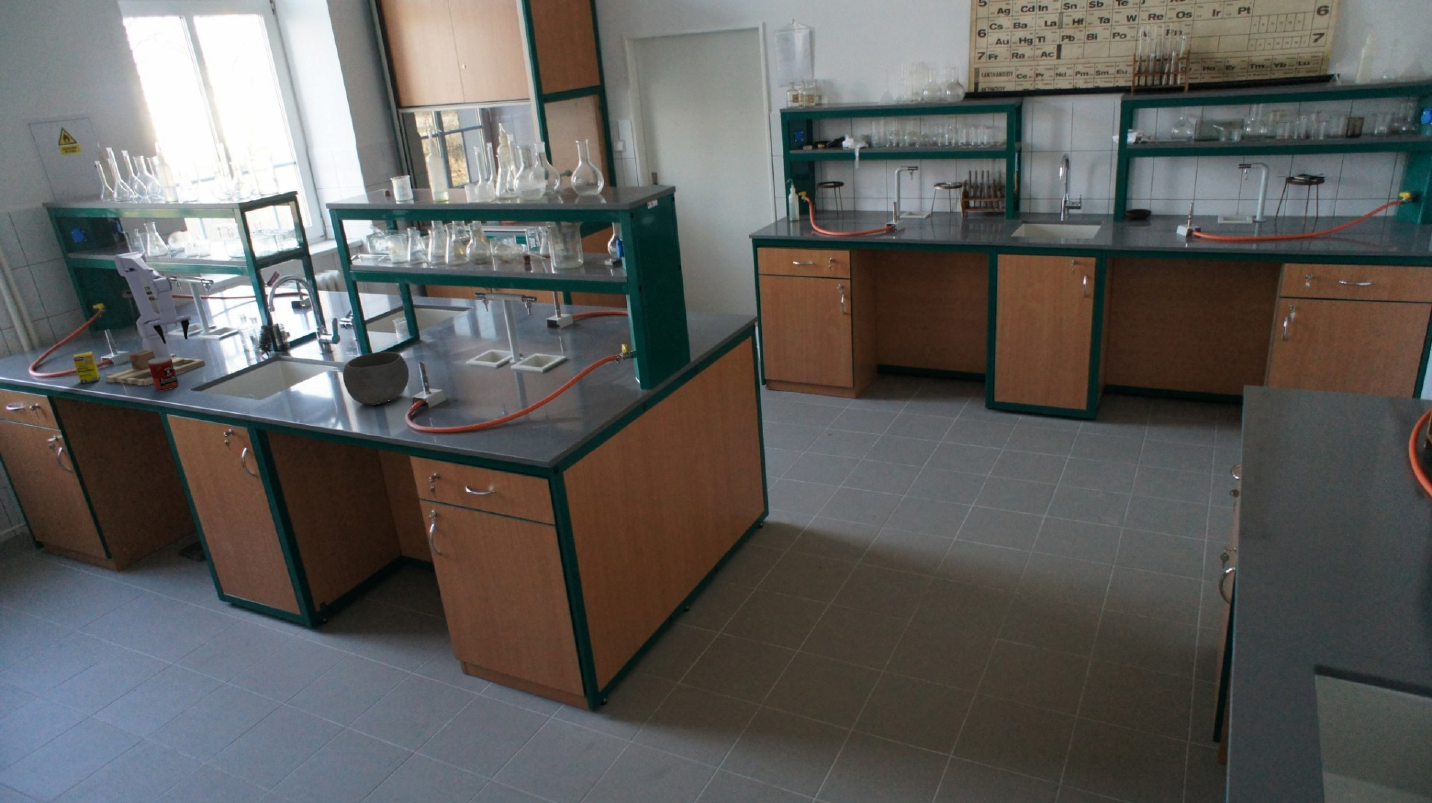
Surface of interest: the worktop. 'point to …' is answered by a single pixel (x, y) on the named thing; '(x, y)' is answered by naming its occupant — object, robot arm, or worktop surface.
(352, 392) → the bowl
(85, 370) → the supplement box
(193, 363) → the trap deck
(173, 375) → the canned food
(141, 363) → the walnut block
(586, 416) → the worktop surface
